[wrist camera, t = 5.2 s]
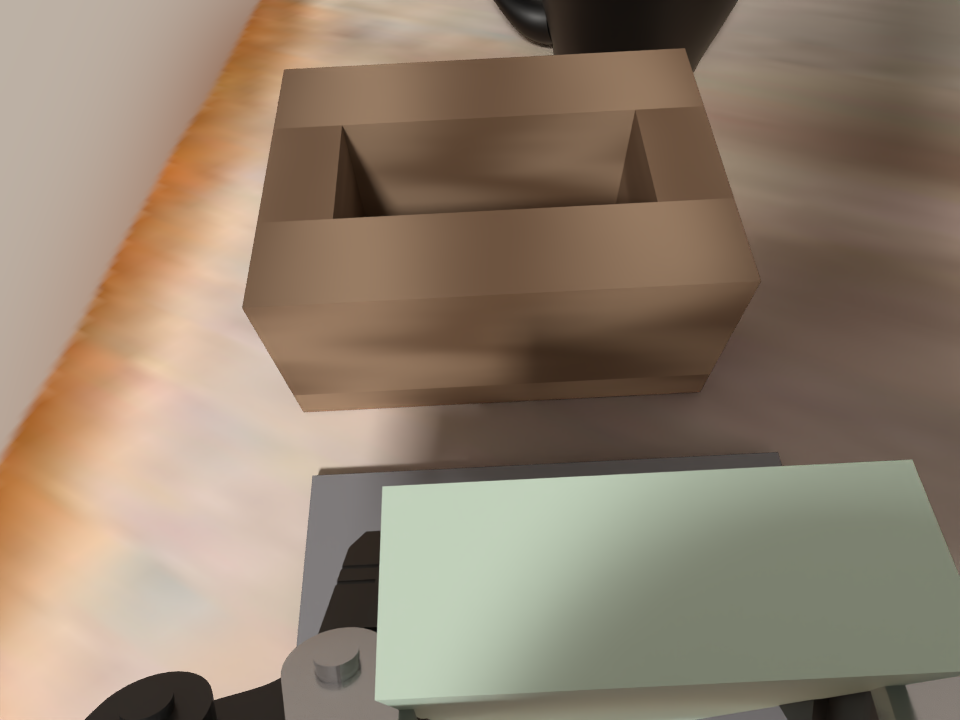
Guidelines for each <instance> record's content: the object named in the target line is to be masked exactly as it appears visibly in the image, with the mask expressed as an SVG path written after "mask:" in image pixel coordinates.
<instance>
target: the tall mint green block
mask: <svg viewBox="0 0 960 720" xmlns="http://www.w3.org/2000/svg"><path fill="white" fill-rule="evenodd" d="M957 676H960V576H959V574H958V571H957V569H956V566H955V564H954V561H953V559H952V556H951V554H950V551H949V549H948V547H947V544H946V542H945V539H944V537H943V534H942V532H941V529H940V527H939V524H938V522H937V519H936V517H935V514H934V512H933V510H932V507H931V505H930V502H929V500H928V497H927V495H926V492H925V490H924V487H923V485H922V482H921V480H920V478H919V475H918V473H917V470H916V468H915V465H914V463H913V460H894V461H874V462H854V463H835V464H815V465H795V466H776V467H756V468H736V469H717V470H697V471H677V472H658V473H638V474H618V475H599V476H579V477H559V478H539V479H520V480H500V481H480V482H461V483H441V484H421V485H402V486H382V511H381V539H380V566H379V594H378V621H377V649H376V677H375V701H378V702H380V703H383V704H385V705H388V706H390V707H393V708H395V709H398V710H405V709H414V711H415V714H416V716H417V717H418V718H421V719H426V718H428V719H430V720H697V719H703V718H709V717H715V716H721V715H727V714H733V713H739V712H745V711H751V710H757V709H763V708H769V707H775V706H779V705H783V704H789V703H795V702H801V701H807V700H813V699H824V698H830V697H836V696H842V695H848V694H854V693H860V692H866V691H870V690H873V689H876V688H880V687H883V686H895V685H908V684H914V683H920V682H926V681H932V680H939V679H945V678H951V677H957Z"/></svg>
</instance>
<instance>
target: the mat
mask: <svg viewBox="0 0 960 720" xmlns="http://www.w3.org/2000/svg"><path fill="white" fill-rule="evenodd" d="M776 466H782V464H781V461H780V458H779V454H778V452H772V453H752V454H733V455H713V456H693V457H673V458H653V459H634V460H614V461H594V462H574V463H554V464H535V465H515V466H495V467H475V468H455V469H435V470H416V471H396V472H376V473H356V474H336V475H317V476H313V477H312V487H311V498H310V509H309V519H308V530H307V541H306V551H305V562H304V573H303V583H302V594H301V605H300V616H299V626H298V637H297V646H299V645H300V644H301V643H303V642H304V641H306V640H307V639H309V638H311V637H313V636H315V635H317V634H318V633H319V630H320V627H321V624H322V621H323V619H324V616H325V613H326V610H327V607H328V605H329V602H330V599H331V596H332V593H333V590H334V588H335V585H337V579H338V576H339V574H340V571H341V569H342V565H343V562H344V559H345V557H346V554H347V551H348V548H349V547H350V546H351V545H352V544H353V543H354V542H355V541H356V540H357V539H358V538H360V537H361V536H362V535H363V534H364V533H365V532H366V531H381V511H382V486H402V485H421V484H441V483H461V482H480V481H500V480H520V479H539V478H559V477H579V476H599V475H618V474H638V473H658V472H677V471H697V470H717V469H736V468H756V467H776ZM697 720H787V718H786V717H785V715H784V713H783V711H782V710H781V708H780V706H775V707H769V708H763V709H757V710H751V711H745V712H739V713H733V714H727V715H721V716H715V717H709V718H703V719H697Z"/></svg>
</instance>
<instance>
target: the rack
mask: <svg viewBox="0 0 960 720" xmlns="http://www.w3.org/2000/svg"><path fill="white" fill-rule="evenodd" d="M760 282H761V279H760V276H759V273H758V270H757V267H756V264H755V261H754V258H753V255H752V252H751V249H750V246H749V243H748V240H747V237H746V233H745V230H744V227H743V224H742V221H741V218H740V215H739V212H738V209H737V206H736V203H735V200H734V197H733V194H732V191H731V188H730V185H729V181H728V178H727V175H726V172H725V169H724V166H723V163H722V160H721V157H720V154H719V151H718V148H717V145H716V142H715V139H714V136H713V133H712V130H711V126H710V123H709V120H708V117H707V114H706V111H705V108H704V105H703V102H702V99H701V96H700V93H699V90H698V87H697V84H696V81H695V78H694V75H693V71H692V68H691V65H690V62H689V59H688V56H687V53H686V50H685V48H680V49H661V50H642V51H624V52H605V53H586V54H567V55H548V56H530V57H511V58H492V59H473V60H455V61H436V62H417V63H398V64H380V65H361V66H342V67H323V68H305V69H286V70H284V73H283V79H282V84H281V90H280V96H279V102H278V107H277V113H276V119H275V124H274V130H273V136H272V141H271V147H270V153H269V158H268V164H267V170H266V175H265V181H264V187H263V193H262V198H261V204H260V210H259V215H258V221H257V227H256V232H255V238H254V244H253V249H252V255H251V261H250V267H249V272H248V278H247V284H246V289H245V295H244V301H243V306H242V308H243V310H244V312H245V313H246V315H247V317H248V319H249V320H250V322H251V324H252V325H253V327H254V329H255V330H256V332H257V334H258V336H259V337H260V339H261V341H262V342H263V344H264V346H265V347H266V349H267V351H268V352H269V354H270V356H271V358H272V359H273V361H274V363H275V364H276V366H277V368H278V369H279V371H280V373H281V374H282V376H283V378H284V380H285V381H286V383H287V385H288V386H289V388H290V390H291V391H292V393H293V395H294V397H295V398H296V400H297V402H298V403H299V405H300V407H301V408H302V410H303V412H317V411H336V410H356V409H375V408H395V407H415V406H434V405H454V404H474V403H493V402H513V401H533V400H552V399H572V398H592V397H611V396H631V395H650V394H670V393H690V392H700V391H701V389H702V388H703V386H704V384H705V382H706V380H707V378H708V377H709V375H710V373H711V371H712V369H713V368H714V366H715V364H716V362H717V360H718V358H719V357H720V355H721V353H722V351H723V349H724V348H725V346H726V344H727V342H728V340H729V338H730V337H731V335H732V333H733V331H734V329H735V328H736V326H737V324H738V322H739V320H740V319H741V317H742V315H743V313H744V311H745V309H746V308H747V306H748V304H749V302H750V300H751V299H752V297H753V295H754V293H755V291H756V289H757V288H758V286H759V284H760Z"/></svg>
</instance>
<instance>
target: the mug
mask: <svg viewBox="0 0 960 720" xmlns="http://www.w3.org/2000/svg"><path fill="white" fill-rule="evenodd" d="M494 1H495V2H496V4H497V5H498V7H499V8H500V10H501V11H502V12H503V14H504V15H505V16H506V18H507V19H508V20H509V21H510V23H511V24H512V25H513V26H514V27H515V28H516V29H517V30H518V31H519V32H520V33H521V34H523V35H524V36H525V37H527V38H529V39H530V40H532V41H535V42H538V43H542V44H552V45H553V53H554V55H567V54H586V53H605V52H624V51H642V50H661V49H680V48H685V50H686V53H687V56H688V59H689V62H690V65H691V68H692V71H693V72H694V71H695V69H696V67H697V65H698V63H699V61H700V59H701V57H702V56H703V54H704V53H705V51H706V50H707V48H708V46H709V45H710V43H711V42H712V40H713V39H714V37H715V36H716V34H717V33H718V31H719V30H720V28H721V27H722V25H723V24H724V22H725V20H726V19H727V17H728V16H729V14H730V12H731V11H732V9H733V8H734V6H735V4H736V3H737V1H738V0H494Z"/></svg>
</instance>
